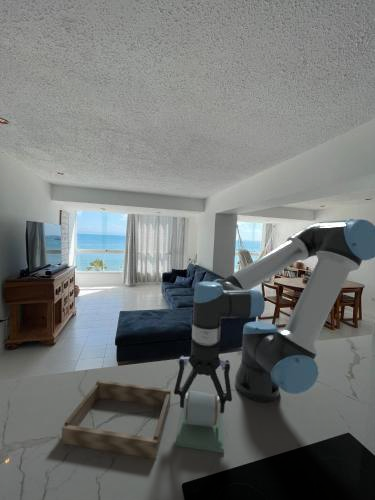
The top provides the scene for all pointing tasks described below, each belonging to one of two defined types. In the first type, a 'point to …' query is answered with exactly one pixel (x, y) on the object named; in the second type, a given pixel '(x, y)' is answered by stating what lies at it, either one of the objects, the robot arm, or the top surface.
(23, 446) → the top surface
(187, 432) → the rubber mat
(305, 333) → the robot arm
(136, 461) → the top surface
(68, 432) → the open wooden box frame
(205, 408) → the ceramic mug
